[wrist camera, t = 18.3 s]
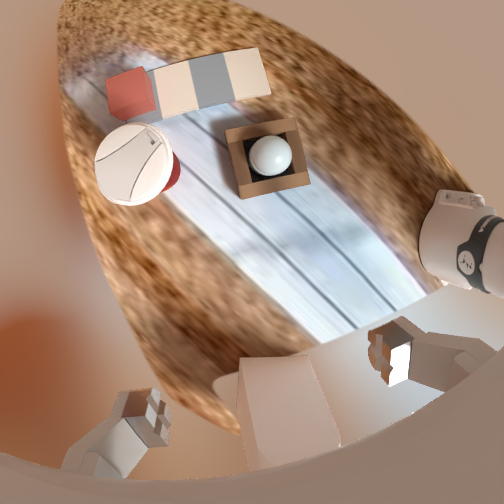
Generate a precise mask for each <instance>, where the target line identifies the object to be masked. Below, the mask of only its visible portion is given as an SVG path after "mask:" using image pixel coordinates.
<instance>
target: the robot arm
mask: <svg viewBox="0 0 504 504" xmlns="http://www.w3.org/2000/svg"><path fill="white" fill-rule="evenodd" d="M419 252H420V258H421V262H422V264H423V266H424V268H425V270H426V271H427V272H428V273H429V274H431V275H433V276H435V277H437V279H438V281H439V283H440V284H441V285H444V286H446V285H448V284H449V283H451V284H454V285H457V286H459V287H462V288H465V289H471V288H473V287H474V288H476V289H477V290H478V291H481V292H485V293H487V294H488V293H493V294H495V295H497V296H499V297H501V298H503V299H504V219H502V218H501V217H498V216H497V214H496V211H495V209H494V208H493V207H491V206H486V205H485V203H484V198H483V197H482V195H481V194H477V193H471V192H463V191H454V190H445V189H440V190H439V191H438V192H437V195H436V198H435V202H434V205H433V207H432V208H431V210H430V211H429V212H428V214H427V216H426V218H425V220H424V222H423V225H422V229H421V233H420V239H419ZM368 340H369V341H370V342H371V344H370V346H369V348H368V356H369V360H370V362H371V364H372V366H373V368H374V369H375V370H378V371H381V377H382V379H383V380H384V381H385V382H386V383H387V385H388V386H391V385H394V384H396V383H398V382H400V381H402V380H404V379H406V378H408V379H410V380H413V381H415V382H418V383H421V384H423V385H426V386H429V387H432V388H434V389H437V390H440V391H443V392H445V393H444V394H443V395H441V396H439V397H438V398H436V399H435V400H433V401H432V402H430V403H428V404H427V405H425V406H423V407H422V408H420V409H418V410H417V411H415V412H413V413H411V414H410V415H408V416H406V417H404V418H402V419H401V420H399V421H397V422H395V423H393V424H391V425H389V426H387V427H385V428H383V429H380V430H378V431H376V432H374V433H372V434H370V435H367V436H365V437H363V438H361V439H358V440H356V441H353V442H351V443H348V444H346V445H343V446H341V447H338V448H335V449H333V450H330V451H327V452H324V453H321V454H318V455H315V456H312V457H309V458H305V459H302V460H299V461H295V462H291V463H288V464H284V465H280V466H276V467H272V468H267V469H262V470H258V471H253V472H247V473H242V474H235V475H229V476H221V477H213V478H202V479H189V480H165V481H164V480H129V479H125V478H126V477H127V476H128V474H129V473H130V472H131V471H132V469H133V468H134V467H135V466H136V464H137V463H138V462H139V460H140V459H141V458H142V456H143V455H144V454H145V453H146V451H147V450H148V448H152V447H165V446H168V443H169V435H170V433H169V432H168V430H167V428H168V427H169V426H170V425H171V414H170V410H169V408H168V406H167V404H166V403H165V402H163V401H162V400H160V397H161V394H160V393H159V391H158V390H157V389H156V388H146V389H135V390H126V391H121V392H119V394H118V396H117V399H116V401H115V404H114V407H113V409H112V412H111V414H110V417H109V418H107V419H105V420H104V421H102V422H101V423H100V424H99V425H97V426H96V427H95V428H94V429H93V430H91V431H90V432H89V433H88V434H86V435H85V436H84V437H83V438H82V439H80V440H79V441H78V442H76V443H75V444H74V445H73V446H72V447H70V448H69V449H68V451H67V454H66V456H65V459H64V461H63V464H62V466H61V469H60V470H58V469H54V468H50V467H46V466H42V465H39V464H35V463H32V462H29V461H25V460H22V459H19V458H17V457H13V456H11V455H8V454H5V453H0V504H504V346H503V347H502V348H501V349H500V350H499V351H498V352H497V351H495V350H494V349H493V348H491V347H490V346H489V345H487V344H486V343H484V342H483V341H481V340H480V339H477V338H468V337H461V336H453V335H446V334H439V333H432V332H428V333H425V332H423V331H422V330H421V329H419V328H418V327H417V326H416V325H414V324H413V323H412V322H410V321H409V320H408V319H406V318H405V317H403V316H400V317H398V318H396V319H394V320H391V321H390V322H388V323H385V324H383V325H381V326H378V327H376V328H374V329H372V330H369V332H368Z"/></svg>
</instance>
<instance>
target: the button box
mask: <svg viewBox="0 0 504 504" xmlns="http://www.w3.org/2000/svg"><path fill="white" fill-rule="evenodd" d="M265 136H280V137H281V138H282V139H284V140H285V141H286V142H287V143H288V145H289V146H290V148H291V152H292V159H291V163H290V165H289V166H288V171H289V175H285V176H281V177H276V178H271V179H267V180H263V181H258V182H254V183H252V179H251V175H250V171H249V167H248V163H247V159H246V155H245V151H244V147H243V143H245V142H250V141H255V140H259V139H261V138H262V137H265ZM225 138H226V142H227V147H228V151H229V155H230V159H231V163H232V167H233V171H234V175H235V179H236V183H237V187H238V191H239V196H240V199H242V200H243V199H247V198H251V197H255V196H260V195H264V194H268V193H272V192H277V191H281V190H286V189H290V188H295V187H299V186H304V185H309V184H311V183H310V179H309V174H308V170H307V165H306V161H305V157H304V153H303V148H302V144H301V140H300V136H299V132H298V128H297V125H296V121H295V117H293V118H287V119H280V120H274V121H268V122H263V123H257V124H252V125H247V126H242V127H237V128H233V129H228V130H225Z"/></svg>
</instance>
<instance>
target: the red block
mask: <svg viewBox="0 0 504 504" xmlns="http://www.w3.org/2000/svg"><path fill="white" fill-rule="evenodd" d="M105 81H106V89H107V97H108V105H109V111H110V114H112V115H114V116H115V117H117V118H118V119H120V120H121V121H125V120H128V119H130V118H133V117H136V116H139V115H142V114H144V113H147V112H150V111H153V110H156V105H155V100H154V95H153V89H152V84H151V79H150V78H149V76H148V74H147V73H146V71H145V70H144V68H143V67H142V66H140V67H137V68H134V69H132V70H129V71H126V72H124V73H121V74H119V75H116V76H114V77H111V78H109V79H107V80H105Z"/></svg>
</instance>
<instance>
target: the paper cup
mask: <svg viewBox="0 0 504 504" xmlns="http://www.w3.org/2000/svg"><path fill="white" fill-rule="evenodd" d="M94 162H95V174H96V179H97V183H98V186H99V188H100V191H101V192H102V194H103V195H104V196H105V197H106V198H107V199H108V200H110V201H111V202H113V203H117V204H122V205H130V206H132V205H139V204H142V203H145V202H147V201H149V200H151V199H152V198H154V197H155V196H156V195H157V194H159V193H161V192H163V191H165V190H167V189H169V188H171V187H172V186H173V185H174V184H175V183H176V182H177V180H178V178H179V176H180V163H179V160H178V158H177V157H176V155H175V154H174V152H173V151H172V148H171V145H170V142H169V141H168V139H167V137H166V136H165V135H164V133H163V132H162V131H160V130H159V129H158V128H156V127H155V126H153V125H150V124H148V123H142V122H133V123H128V124H125V125H122V126H120V127H118V128H117V129H115V130H114V131H112V132H111V133H109V134H108V135H107V136H106V137H105V139H104V140H103V141H102V142H101V144H100V146H99V148H98V150H97V153H96V156H95V161H94Z"/></svg>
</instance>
